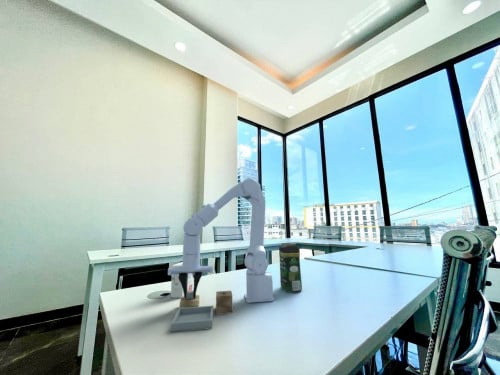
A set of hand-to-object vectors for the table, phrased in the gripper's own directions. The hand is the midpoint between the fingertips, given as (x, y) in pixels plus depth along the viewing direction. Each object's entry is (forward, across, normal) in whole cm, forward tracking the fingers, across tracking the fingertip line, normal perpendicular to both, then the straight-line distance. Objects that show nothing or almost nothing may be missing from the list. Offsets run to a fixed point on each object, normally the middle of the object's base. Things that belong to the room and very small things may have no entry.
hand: (190, 296), depth 69 cm
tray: (+3, -2, +10) cm, 11 cm away
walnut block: (+3, -11, +4) cm, 12 cm away
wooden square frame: (+3, 0, 0) cm, 3 cm away
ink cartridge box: (+4, +5, -15) cm, 16 cm away
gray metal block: (+3, 0, 0) cm, 3 cm away
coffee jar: (+4, -39, -12) cm, 41 cm away
